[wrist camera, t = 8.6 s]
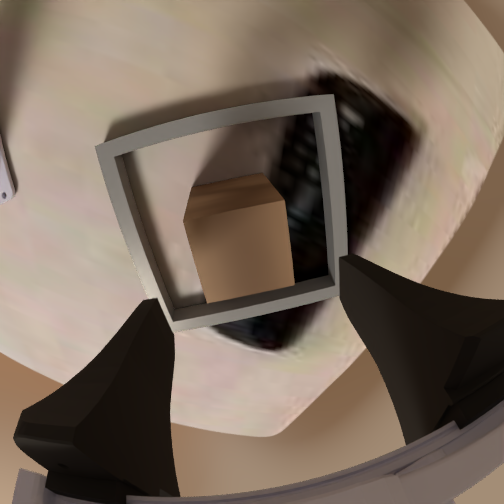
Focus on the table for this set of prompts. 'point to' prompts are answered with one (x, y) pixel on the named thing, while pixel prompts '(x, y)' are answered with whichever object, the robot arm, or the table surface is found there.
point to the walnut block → (239, 237)
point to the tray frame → (114, 149)
